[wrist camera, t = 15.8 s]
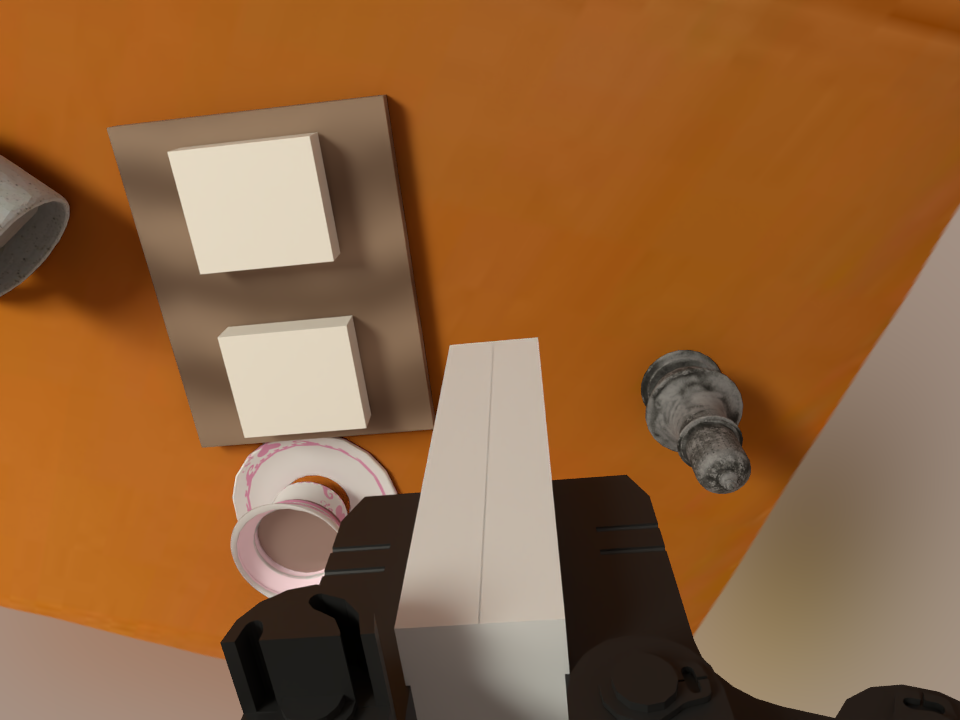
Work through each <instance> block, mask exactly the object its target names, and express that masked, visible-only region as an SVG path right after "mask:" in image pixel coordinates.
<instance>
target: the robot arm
mask: <svg viewBox="0 0 960 720" xmlns="http://www.w3.org/2000/svg"><path fill="white" fill-rule="evenodd" d="M332 549H333V551H332V553H330V555H329V558H328V561H327V564H326V567H325V570H324V572H325V574H324V576H322V578H321V581H320V584H319V585H318V584H315V585H310V586H305V587H300V588H295V589H289V590H286V591H284V592H282V593H280V594H277V595H275V596H273V597H271V598H268V599H266V600H264V601H262V602H260V603H258V604H257V605H256V606H255V607H253V608H252V609H251V610H249V611H248V612H247V613H246V614H244V615H243V616H242V617H240V618H239V619H238V620H237V621H236V622H235V623H234V625H233V626H232V627H231V629H230V630H229V632H228V633H227V634H226V636H225V637H224V638H223V640H222V641H221V646H222V649H223V652H224V655H225V658H226V661H227V664H228V667H229V670H230V674H231V677H232V679H233V683H234V686H235V689H236V692H237V695H238V698H239V701H240V704H241V707H242V710H243V713H244V714H243V717H242V719H241V720H960V701H958V700H956V699H953V698H951V697H949V696H947V695H945V694H942V693H940V692H937V691H932V690H927V689H922V688H917V687H912V686H907V685H892V686H879V687H870V688H868V689H866V690H864V691H862V692H860V693H858V694H857V695H854V696H853V697H851V698H849V699H847V700H846V701H845V703H844V705H843V706H842V708H841V710H840V711H839V713H838V715H837V716H836V718H832V717H827V716H823V715H818V714H813V713H809V712H804V711H800V710H796V709H791V708H786V707H782V706H779V705H775V704H772V703H769V702H766V701H763V700H759V699H756V698H754V697H752V696H750V695H748V694H746V693H744V692H742V691H741V690H739V689H737V688H735V687H733V686H732V685H730V684H729V683H728V682H727V681H725V680H724V679H723V678H721V677H720V676H719V675H718V674H716V673H715V672H714V670H713V669H712V667H711V665H709V664H708V663H707V662H706V661H705V660H704V659H703V658H702V656H701V654H700V652H699V650H698V648H697V646H696V644H695V642H694V639H693V636H692V632H691V629H690V626H689V623H688V619H687V616H686V613H685V610H684V606H683V603H682V600H681V597H680V594H679V590H678V587H677V584H676V581H675V577H674V574H673V571H672V568H671V564H670V561H669V558H668V555H667V552H666V551H665V545H664V542H663V539H662V535H661V532H660V529H659V528H658V522H657V519H656V516H655V513H654V509H653V506H652V503H651V500H650V497H649V495H648V494H647V493H645V492H644V491H643V490H642V489H641V488H640V487H639V486H638V485H637V484H636V483H635V482H634V481H633V480H631V479H630V478H629V477H628V476H627V475H618V476H605V477H591V478H577V479H564V480H552V478H551V468H550V458H549V447H548V437H547V427H546V416H545V406H544V396H543V385H542V375H541V365H540V355H539V344H538V337H537V338H526V339H515V340H503V341H492V342H481V343H469V344H458V345H450V348H449V353H448V358H447V363H446V368H445V373H444V378H443V383H442V388H441V393H440V399H439V404H438V409H437V414H436V419H435V424H434V429H433V434H432V439H431V444H430V449H429V454H428V460H427V465H426V470H425V475H424V480H423V485H422V490H421V493H408V494H394V495H380V496H366V497H364V498H363V499H362V500H361V501H360V502H359V503H358V504H357V505H356V506H355V507H354V508H353V509H352V510H351V511H350V513H349V514H348V515H347V516H346V517H345V518H344V519H343V520H342V521H341V524H340V527H339V530H338V533H337V536H336V538H335V541H334V544H333V547H332Z"/></svg>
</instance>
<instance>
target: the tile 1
mask: <svg viewBox="0 0 960 720" xmlns="http://www.w3.org/2000/svg"><path fill="white" fill-rule="evenodd" d="M167 153H168V157H169V160H170V164H171V168H172V171H173V175H174V179H175V182H176V186H177V190H178V194H179V197H180V201H181V205H182V208H183V212H184V216H185V219H186V223H187V227H188V231H189V234H190V238H191V242H192V245H193V249H194V253H195V256H196V260H197V264H198V267H199V271H200V274H210V273H220V272H230V271H240V270H250V269H260V268H270V267H281V266H291V265H301V264H311V263H321V262H331V261H334V260H335V259H336V258H337V257H338V255H339V254H340V248H339V243H338V238H337V232H336V227H335V222H334V216H333V211H332V206H331V201H330V195H329V190H328V185H327V180H326V174H325V169H324V164H323V159H322V153H321V148H320V143H319V138H318V132H315V133H307V134H298V135H289V136H280V137H271V138H262V139H253V140H244V141H236V142H227V143H218V144H209V145H200V146H191V147H182V148H178V149H175V150H172V151H169V152H167Z"/></svg>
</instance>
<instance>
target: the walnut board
mask: <svg viewBox="0 0 960 720" xmlns="http://www.w3.org/2000/svg"><path fill="white" fill-rule="evenodd" d="M107 131H108V134H109V138H110V141H111V144H112V148H113V151H114V155H115V158H116V161H117V165H118V168H119V171H120V175H121V178H122V181H123V185H124V188H125V191H126V195H127V198H128V201H129V205H130V208H131V211H132V215H133V218H134V221H135V225H136V228H137V232H138V235H139V238H140V242H141V245H142V248H143V252H144V255H145V258H146V262H147V265H148V268H149V272H150V275H151V278H152V282H153V285H154V288H155V292H156V295H157V298H158V302H159V305H160V308H161V312H162V315H163V319H164V322H165V325H166V329H167V332H168V335H169V339H170V342H171V345H172V349H173V352H174V355H175V359H176V362H177V365H178V369H179V372H180V375H181V379H182V382H183V385H184V389H185V392H186V396H187V399H188V402H189V406H190V409H191V412H192V416H193V419H194V422H195V426H196V429H197V432H198V436H199V439H200V442H201V446H202V447H215V446H228V445H240V444H253V443H265V442H278V441H290V440H303V439H316V438H328V437H341V436H353V435H366V434H379V433H391V432H404V431H416V430H429V429H434V424H435V414H434V407H433V400H432V394H431V387H430V381H429V374H428V367H427V361H426V354H425V348H424V341H423V334H422V328H421V321H420V315H419V308H418V301H417V295H416V288H415V281H414V275H413V268H412V262H411V255H410V248H409V242H408V235H407V229H406V222H405V215H404V209H403V202H402V196H401V189H400V182H399V176H398V169H397V163H396V156H395V149H394V143H393V136H392V129H391V123H390V116H389V110H388V103H387V96H386V95H378V96H369V97H361V98H352V99H343V100H335V101H326V102H318V103H309V104H300V105H292V106H283V107H274V108H266V109H257V110H249V111H240V112H231V113H223V114H214V115H205V116H197V117H188V118H179V119H171V120H162V121H154V122H145V123H136V124H128V125H119V126H113V127H109V128H107ZM315 132H318V138H319V143H320V148H321V153H322V159H323V164H324V169H325V174H326V180H327V185H328V190H329V195H330V201H331V206H332V211H333V216H334V222H335V227H336V232H337V238H338V243H339V248H340V254H339V255H338V257H337V258H336V259H335V260H334V261H331V262H321V263H311V264H301V265H291V266H281V267H270V268H260V269H250V270H240V271H230V272H220V273H210V274H200V271H199V267H198V264H197V260H196V256H195V253H194V249H193V245H192V242H191V238H190V234H189V231H188V227H187V223H186V219H185V216H184V212H183V208H182V205H181V201H180V197H179V194H178V190H177V186H176V182H175V179H174V175H173V171H172V168H171V164H170V160H169V157H168V153H167V152H169V151H172V150H175V149H178V148H182V147H191V146H200V145H209V144H218V143H227V142H236V141H244V140H253V139H262V138H271V137H280V136H289V135H298V134H307V133H315ZM341 316H353V322H354V327H355V332H356V338H357V343H358V348H359V353H360V359H361V364H362V369H363V374H364V380H365V385H366V390H367V395H368V401H369V406H370V411H371V417H370V420H369V422H368V425H367V428H363V429H350V430H338V431H325V432H313V433H300V434H288V435H275V436H263V437H250V438H245V437H244V434H243V430H242V426H241V423H240V419H239V415H238V412H237V408H236V404H235V400H234V397H233V393H232V389H231V386H230V382H229V378H228V375H227V371H226V367H225V364H224V360H223V356H222V352H221V349H220V345H219V341H218V337H219V336H220V335H221V333H222V332H223V331H224V330H225V329H226V328H227V327H233V326H244V325H255V324H266V323H277V322H287V321H298V320H309V319H320V318H331V317H341Z"/></svg>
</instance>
